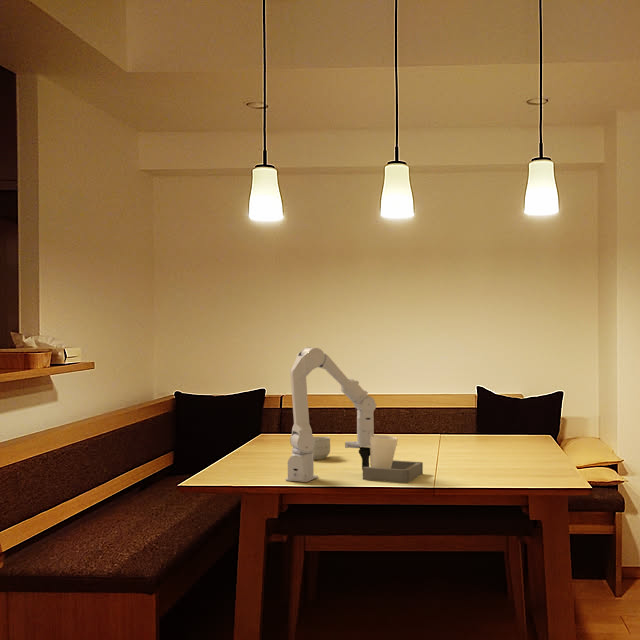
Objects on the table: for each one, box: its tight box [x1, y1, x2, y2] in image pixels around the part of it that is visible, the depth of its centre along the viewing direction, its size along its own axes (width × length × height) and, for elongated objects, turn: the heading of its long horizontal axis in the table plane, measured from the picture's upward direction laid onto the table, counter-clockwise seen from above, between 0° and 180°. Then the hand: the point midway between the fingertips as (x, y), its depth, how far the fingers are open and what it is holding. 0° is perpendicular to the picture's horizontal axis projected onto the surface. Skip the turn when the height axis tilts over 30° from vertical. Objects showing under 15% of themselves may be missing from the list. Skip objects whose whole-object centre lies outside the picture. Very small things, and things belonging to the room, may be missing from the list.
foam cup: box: [369, 433, 398, 469], centre depth 281 cm, size 10×9×13 cm
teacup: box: [313, 436, 331, 461], centre depth 318 cm, size 14×11×8 cm
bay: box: [362, 459, 424, 484], centre depth 279 cm, size 17×16×4 cm
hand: (365, 469), depth 283 cm, fingers closed, pressing on foam cup
